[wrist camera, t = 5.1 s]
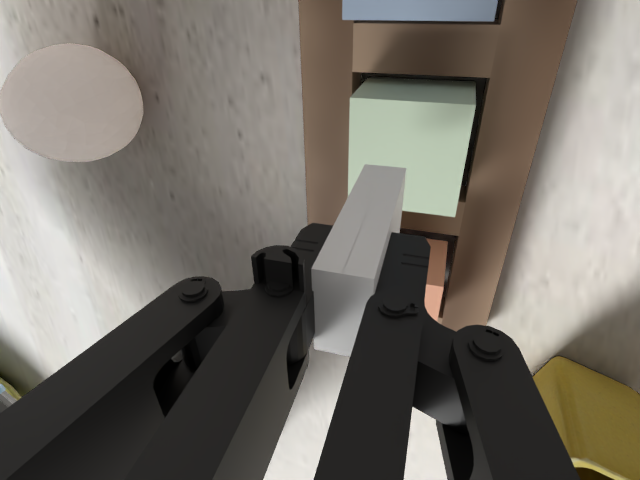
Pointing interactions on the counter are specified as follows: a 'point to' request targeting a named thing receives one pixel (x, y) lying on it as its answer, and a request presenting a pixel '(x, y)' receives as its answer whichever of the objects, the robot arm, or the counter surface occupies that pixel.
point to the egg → (71, 103)
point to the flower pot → (593, 419)
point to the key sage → (414, 136)
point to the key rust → (435, 276)
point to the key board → (492, 131)
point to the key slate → (419, 10)
